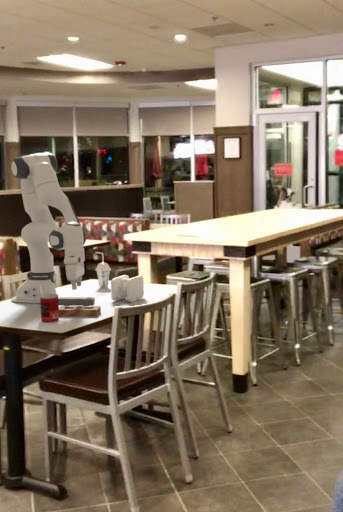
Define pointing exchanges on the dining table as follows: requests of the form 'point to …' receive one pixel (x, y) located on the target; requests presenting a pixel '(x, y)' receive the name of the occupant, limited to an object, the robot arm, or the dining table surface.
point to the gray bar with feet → (77, 301)
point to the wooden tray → (80, 311)
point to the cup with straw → (103, 272)
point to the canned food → (49, 307)
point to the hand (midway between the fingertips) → (76, 287)
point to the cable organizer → (127, 288)
